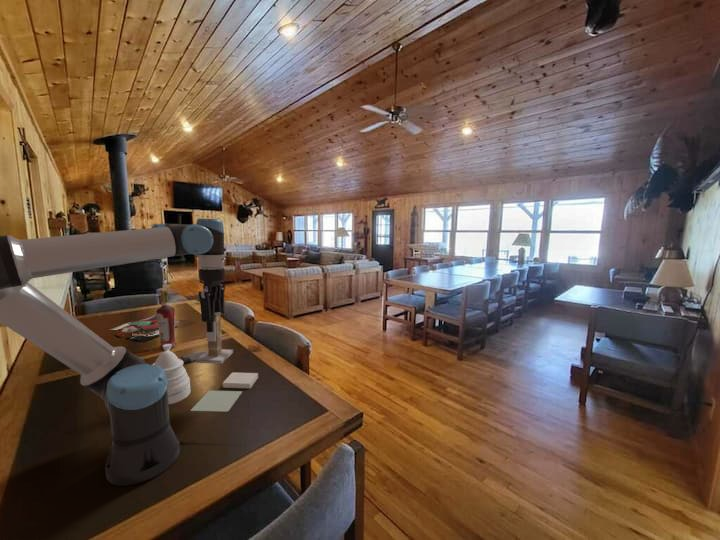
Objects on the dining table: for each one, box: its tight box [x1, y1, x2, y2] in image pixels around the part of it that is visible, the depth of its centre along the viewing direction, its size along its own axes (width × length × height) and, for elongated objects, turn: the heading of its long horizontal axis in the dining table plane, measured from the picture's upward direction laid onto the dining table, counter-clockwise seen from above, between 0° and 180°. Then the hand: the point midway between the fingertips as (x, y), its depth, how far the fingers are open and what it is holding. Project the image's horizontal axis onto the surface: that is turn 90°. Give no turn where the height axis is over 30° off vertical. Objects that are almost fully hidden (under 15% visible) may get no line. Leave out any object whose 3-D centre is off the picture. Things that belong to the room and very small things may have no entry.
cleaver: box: [150, 350, 208, 365], centre depth 136 cm, size 30×10×2 cm, turn 131°
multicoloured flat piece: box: [110, 314, 188, 343], centre depth 176 cm, size 35×35×2 cm
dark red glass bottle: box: [155, 289, 177, 350], centre depth 146 cm, size 7×7×28 cm
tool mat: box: [189, 390, 243, 413], centre depth 104 cm, size 12×12×1 cm
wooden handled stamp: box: [195, 312, 234, 365], centre depth 100 cm, size 9×8×15 cm
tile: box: [222, 372, 259, 389], centre depth 115 cm, size 3×10×8 cm
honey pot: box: [151, 344, 191, 406], centre depth 105 cm, size 13×13×18 cm
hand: (214, 338), depth 101 cm, fingers closed on wooden handled stamp, 3 cm apart
